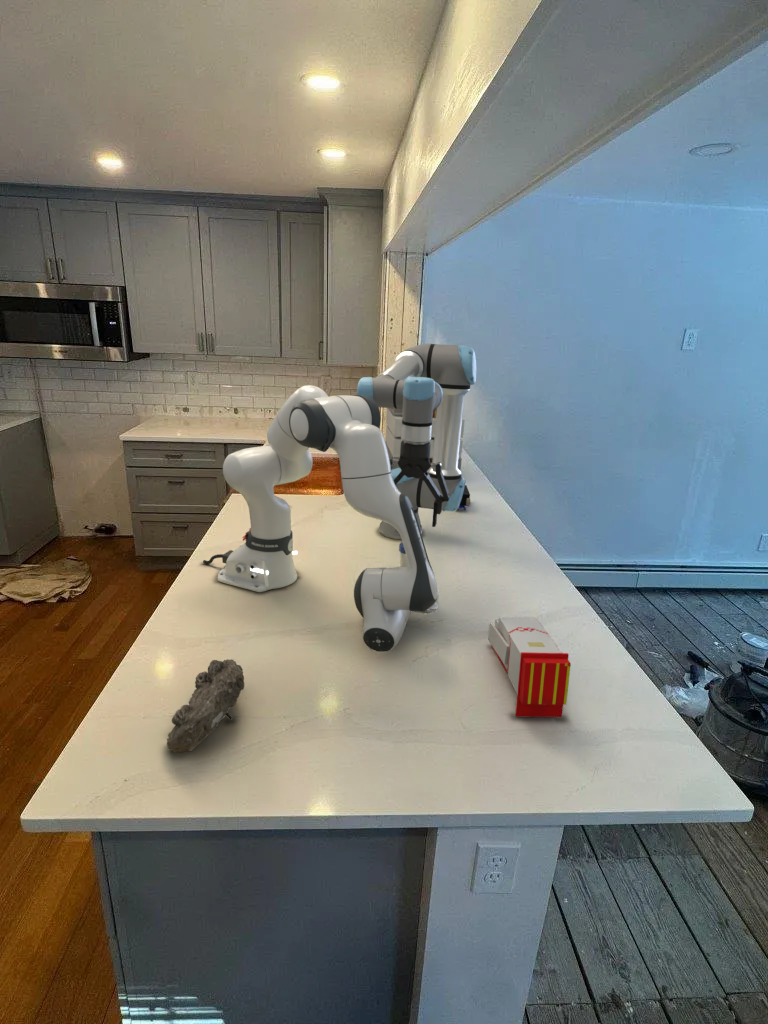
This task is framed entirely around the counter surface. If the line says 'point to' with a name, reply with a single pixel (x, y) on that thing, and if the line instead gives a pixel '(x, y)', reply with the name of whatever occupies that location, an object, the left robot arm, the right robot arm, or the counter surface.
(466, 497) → the figurine character
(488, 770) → the counter surface
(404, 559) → the bottle
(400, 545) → the lid
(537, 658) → the toy
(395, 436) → the grey slatted crate
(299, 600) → the counter surface
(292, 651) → the counter surface
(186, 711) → the fossil
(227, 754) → the counter surface
